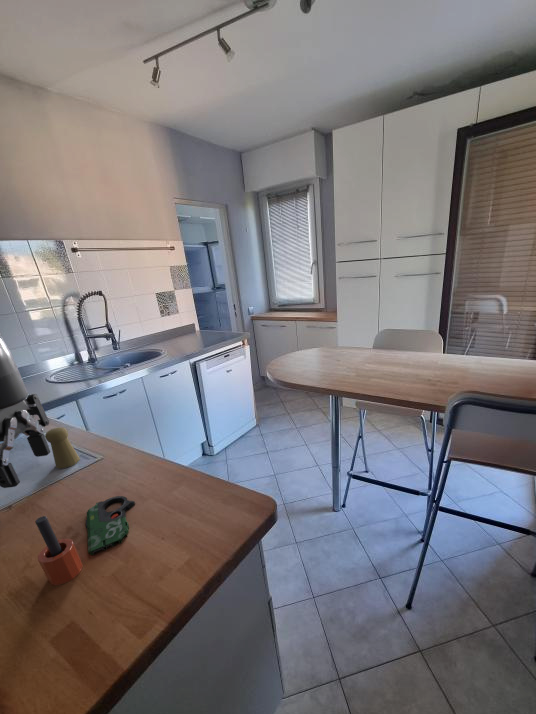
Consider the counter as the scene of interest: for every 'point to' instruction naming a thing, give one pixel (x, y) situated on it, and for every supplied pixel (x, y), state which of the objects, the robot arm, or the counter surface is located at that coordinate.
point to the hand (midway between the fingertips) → (28, 469)
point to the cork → (62, 448)
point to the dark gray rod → (48, 536)
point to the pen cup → (61, 563)
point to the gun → (107, 524)
